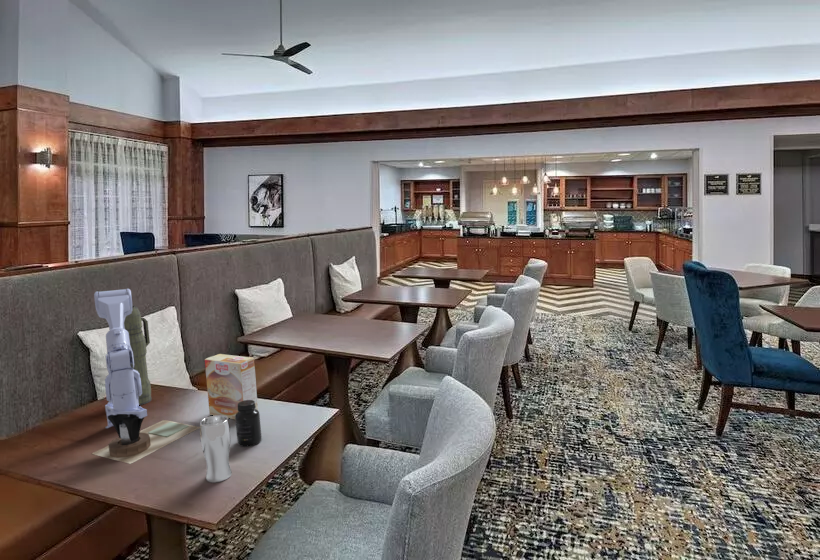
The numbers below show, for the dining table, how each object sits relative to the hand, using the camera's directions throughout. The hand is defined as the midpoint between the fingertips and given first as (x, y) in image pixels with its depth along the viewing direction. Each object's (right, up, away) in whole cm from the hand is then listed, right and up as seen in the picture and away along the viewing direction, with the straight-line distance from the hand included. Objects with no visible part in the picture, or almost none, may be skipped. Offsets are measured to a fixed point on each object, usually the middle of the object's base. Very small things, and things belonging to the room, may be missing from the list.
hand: (129, 438), depth 140 cm
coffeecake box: (+21, 0, +25) cm, 33 cm away
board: (+3, -3, +6) cm, 7 cm away
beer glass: (+31, -5, -14) cm, 34 cm away
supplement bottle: (+33, -3, +5) cm, 33 cm away
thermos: (-19, 0, +39) cm, 44 cm away
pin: (0, -3, 0) cm, 3 cm away
